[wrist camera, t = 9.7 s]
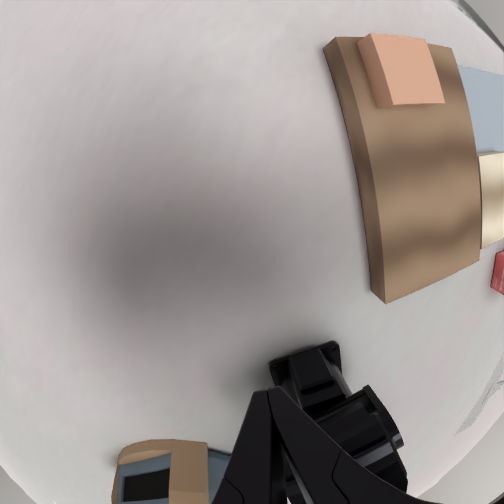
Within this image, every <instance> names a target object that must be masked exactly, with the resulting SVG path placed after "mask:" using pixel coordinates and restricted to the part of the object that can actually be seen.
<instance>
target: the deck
mask: <svg viewBox="0 0 504 504" xmlns="http://www.w3.org/2000/svg"><path fill="white" fill-rule="evenodd" d="M363 38H364V37H335V38H334V39H333V40H332V41H331V42H330V43H328V44H327V45H326V46H325V47H324V48H323V50H324V53H325V56H326V59H327V62H328V65H329V68H330V71H331V74H332V78H333V81H334V84H335V88H336V91H337V94H338V98H339V101H340V105H341V109H342V112H343V116H344V120H345V124H346V128H347V132H348V137H349V141H350V145H351V150H352V154H353V159H354V164H355V169H356V174H357V180H358V185H359V191H360V197H361V203H362V209H363V216H364V223H365V231H366V239H367V247H368V257H369V267H370V279H371V291H372V292H373V293H374V294H375V295H376V296H377V297H378V298H379V299H380V300H382V301H383V302H384V303H385V304H387V303H390V302H392V301H394V300H397V299H399V298H402V297H404V296H406V295H409V294H411V293H413V292H415V291H418V290H420V289H422V288H424V287H427V286H429V285H431V284H433V283H435V282H437V281H439V280H441V279H444V278H446V277H448V276H450V275H452V274H454V273H456V272H458V271H460V270H462V269H464V268H466V267H468V266H470V265H471V264H473V263H475V262H477V261H479V256H480V236H481V201H480V182H479V170H478V160H477V152H476V145H475V138H474V132H473V126H472V121H471V116H470V111H469V107H468V102H467V98H466V94H465V90H464V87H463V83H462V79H461V76H460V73H459V69H458V66H457V63H456V60H455V57H454V54H453V52H452V49H451V48H448V47H443V46H438V45H433V44H427V46H428V48H429V51H430V54H431V57H432V60H433V63H434V66H435V69H436V72H437V75H438V79H439V82H440V86H441V89H442V93H443V97H444V101H445V103H444V104H437V105H431V106H409V107H392V108H379V109H377V106H376V102H375V98H374V95H373V91H372V88H371V84H370V81H369V78H368V74H367V71H366V68H365V65H364V62H363V59H362V56H361V53H360V51H359V48H358V45H357V42H359V41H360V40H361V39H363Z"/></svg>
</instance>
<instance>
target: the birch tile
mask: <svg viewBox="0 0 504 504" xmlns="http://www.w3.org/2000/svg"><path fill="white" fill-rule="evenodd" d="M477 160H478V170H479V182H480V201H481V236H480V249H483V248H485V247H487V246H489V245H491V244H493V243H495V242H497V241H499V240H500V239H502V238H504V152H500V151H489V152H482V153H477Z"/></svg>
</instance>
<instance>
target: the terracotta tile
mask: <svg viewBox="0 0 504 504" xmlns="http://www.w3.org/2000/svg"><path fill="white" fill-rule="evenodd" d="M357 45H358V48H359V51H360V53H361V56H362V59H363V62H364V65H365V68H366V71H367V74H368V78H369V81H370V84H371V88H372V91H373V95H374V98H375V102H376V106H377V109H379V108H392V107H409V106H431V105H437V104H444V103H445V101H444V97H443V93H442V89H441V86H440V82H439V79H438V75H437V72H436V69H435V66H434V63H433V60H432V57H431V54H430V51H429V48H428V46H427V43H426V40H425V39H419V38H413V37H406V36H397V35H387V34H375V33H370V34H368V35H367V36H366V37H364V38H363V39H361V40H360V41H359V42H357Z"/></svg>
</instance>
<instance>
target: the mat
mask: <svg viewBox="0 0 504 504" xmlns="http://www.w3.org/2000/svg"><path fill="white" fill-rule="evenodd" d="M457 66H458V65H457ZM458 69H459V73H460V76H461V79H462V83H463V87H464V90H465V94H466V98H467V102H468V107H469V111H470V116H471V121H472V126H473V132H474V138H475V145H476V152H477V153H482V152H489V151H500V152H504V76H502V75H498V74H495V73H491V72H487V71H482V70H478V69H473V68H468V67H463V66H458Z"/></svg>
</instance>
